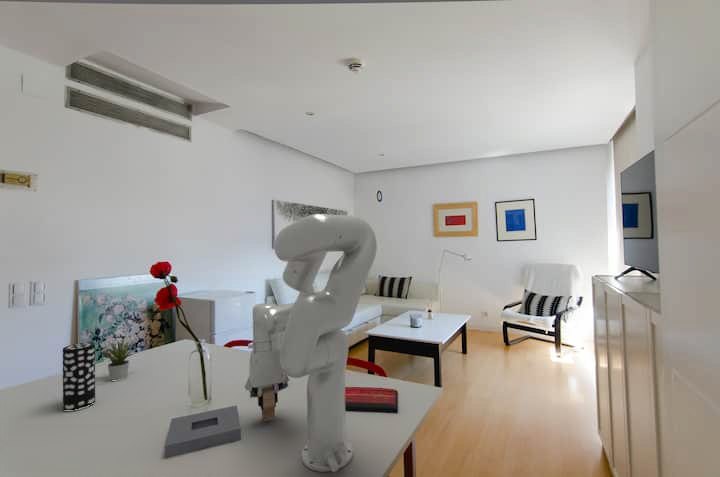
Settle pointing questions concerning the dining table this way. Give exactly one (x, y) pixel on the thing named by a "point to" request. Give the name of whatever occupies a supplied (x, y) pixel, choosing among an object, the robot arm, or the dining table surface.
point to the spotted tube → (78, 375)
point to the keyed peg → (268, 403)
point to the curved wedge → (272, 386)
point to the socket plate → (202, 431)
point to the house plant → (118, 360)
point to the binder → (371, 399)
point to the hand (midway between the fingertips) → (268, 406)
